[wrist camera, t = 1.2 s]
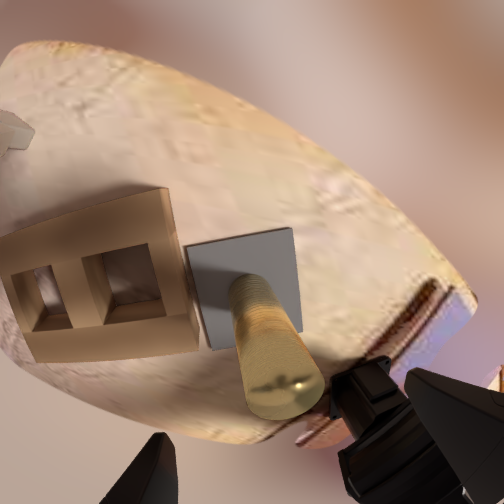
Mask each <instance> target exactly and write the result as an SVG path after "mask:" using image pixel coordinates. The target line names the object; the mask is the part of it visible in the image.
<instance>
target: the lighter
mask: <svg viewBox="0 0 504 504" xmlns="http://www.w3.org/2000/svg"><path fill="white" fill-rule="evenodd" d="M34 134H35V130H34V129H33V128H32V127H31V126H29V125H28V124H27V123H25V122H24V121H23V120H21V119H20V118H19V117H18V116H16V115H15V114H14V113H11V112H8V111H4V110H0V157H1V156H3V155H4V154H5V153H6V150H7V148H13V149H21V150H26V149H27V148H28V146H29V144H30V142H31V140H32V138H33V136H34Z"/></svg>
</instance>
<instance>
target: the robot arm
mask: <svg viewBox="0 0 504 504" xmlns="http://www.w3.org/2000/svg"><path fill="white" fill-rule="evenodd" d="M390 366H391V359H390V357H388V356H386V357H384V358H381V359H379V360H376V361H373V362H371V363H368V364H366V365H363V366H360V367H357V368H354V369H352V370H349V371H346V372H343V373H340V374H337V375H334V376H332V377H331V379H330V399H329V418H330V420H336V419H339V418H343V420H344V422H345V424H346V425H347V427H348V429H349V431H350V432H351V434H352V436H353V438H354V439H355V442H354V443H352V444H351V445H349V446H348V447H347V448H345V449H342V450H340V451H339V452H338V457H339V464H340V468H341V472H342V476H343V480H344V484H345V488H346V491H347V494H348V495H349V496H350V497H353V498H354V499H355V500H356V501H357V502H358V503H360V504H496V503H498V502H499V501H500V500H502V499H503V498H504V393H501V392H497V391H494V390H489V389H486V388H483V387H479V386H475V385H472V384H469V383H465V382H462V381H459V380H456V379H452V378H449V377H446V376H443V375H440V374H437V373H434V372H430V371H427V370H424V369H421V368H418V367H415V368H413V369H411V370H409V371H408V372H407V375H406V379H405V383H404V390H405V392H406V394H407V395H408V398H407V397H406V396H405V395H404V393H403V392H402V391H401V390H400V389H399V388H398V385H397V384H396V383H395V381H394V380H393V379H392V378H391V377H390V376H389V372H390ZM335 380H336V381H335ZM99 504H178V476H177V467H176V455H175V447H174V445H173V443H172V441H171V440H170V438H169V437H168V435H167V434H166V433H165V432H156V433H154V434H153V435H152V436H151V438H150V439H149V440H148V442H147V443H146V444H145V446H144V447H143V448H142V450H141V451H140V452H139V453H138V455H137V456H136V457H135V459H134V460H133V461H132V462H131V464H130V465H129V466H128V468H127V469H126V470H125V472H124V473H123V474H122V475H121V477H120V478H119V479H118V480H117V482H116V483H115V484H114V486H113V487H112V488H111V489H110V491H109V492H108V493H107V494H106V497H104V498H103V499H102V500H101V502H100V503H99ZM503 504H504V503H503Z"/></svg>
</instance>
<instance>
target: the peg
mask: <svg viewBox="0 0 504 504" xmlns="http://www.w3.org/2000/svg"><path fill="white" fill-rule="evenodd" d="M228 299H229V306H230V312H231V318H232V324H233V330H234V336H235V342H236V348H237V353H238V359H239V364H240V370H241V375H242V381H243V386H244V391H245V397H246V402H247V405H248V408H249V409H250V410H251V412H252V413H254V414H255V415H257V416H258V417H261V418H264V419H268V420H284V419H289V418H292V417H295V416H298V415H300V414H302V413H304V412H306V411H307V410H309V409H310V408H311V407H313V406H314V405H315V404H316V403H317V402H318V400H319V399H320V397H321V396H322V394H323V391H324V387H325V381H324V378H323V376H322V374H321V372H320V370H319V369H318V367H317V365H316V364H315V362H314V360H313V358H312V357H311V355H310V353H309V352H308V350H307V348H306V346H305V345H304V343H303V341H302V340H301V338H300V336H299V334H298V333H297V331H296V329H295V328H294V326H293V324H292V322H291V321H290V319H289V317H288V316H287V314H286V312H285V310H284V309H283V307H282V305H281V304H280V302H279V300H278V298H277V297H276V295H275V293H274V292H273V290H272V288H271V286H270V285H269V283H268V282H267V280H266V279H264V278H263V277H261V276H259V275H256V274H245V275H242V276H240V277H238V278H237V279H236V280H234V281H233V283H232V284H231V286H230V288H229V291H228Z"/></svg>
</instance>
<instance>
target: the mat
mask: <svg viewBox="0 0 504 504" xmlns="http://www.w3.org/2000/svg"><path fill="white" fill-rule="evenodd" d="M187 251H188V255H189V260H190V265H191V269H192V273H193V278H194V282H195V286H196V290H197V294H198V298H199V302H200V306H201V310H202V314H203V318H204V322H205V326H206V329H207V333H208V337H209V340H210V344H211V347H212V351H214V350H220V349H226V348H231V347H236V342H235V336H234V330H233V324H232V318H231V312H230V306H229V299H228V291H229V288H230V286H231V284H232V283H233V281H234V280H236V279H237V278H238V277H240V276H242V275H245V274H256V275H259V276H261V277H263V278H264V279H266V280H267V282H268V283H269V285H270V286H271V288H272V290H273V292H274V293H275V295H276V297H277V298H278V300H279V302H280V304H281V305H282V307H283V309H284V310H285V312H286V314H287V316H288V317H289V319H290V321H291V322H292V324H293V326H294V328H295V329H296V331H297V333H300V332H303V325H302V314H301V303H300V292H299V282H298V273H297V264H296V255H295V246H294V238H293V230H292V228H288V229H282V230H276V231H271V232H265V233H259V234H254V235H248V236H243V237H237V238H232V239H227V240H221V241H216V242H211V243H205V244H200V245H195V246H190V247H187Z"/></svg>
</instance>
